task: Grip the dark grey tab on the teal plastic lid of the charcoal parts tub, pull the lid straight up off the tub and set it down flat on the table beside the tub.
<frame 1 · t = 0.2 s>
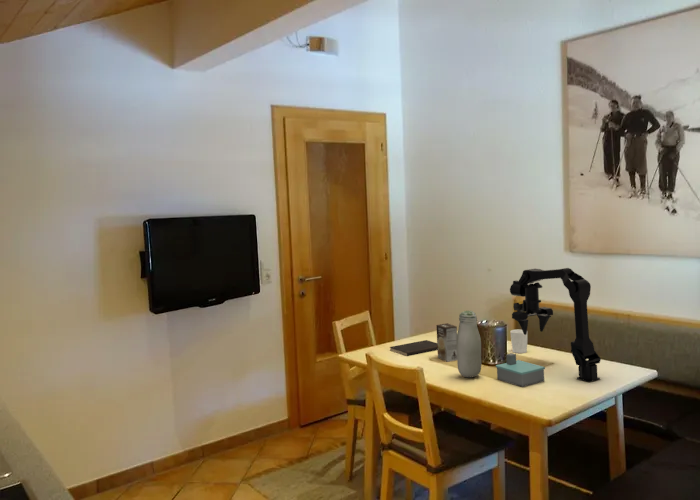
hand: (533, 333, 266), 15 cm above the table, tool pointing down, fingers open, 9 cm apart
parts tub: (520, 380, 247), on the table
lid: (520, 368, 246), point 5 cm above the table, touching parts tub
hardcover book: (417, 350, 309), on the table
white cup: (519, 352, 292), on the table
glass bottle: (470, 377, 256), on the table
coffee box: (447, 359, 287), on the table
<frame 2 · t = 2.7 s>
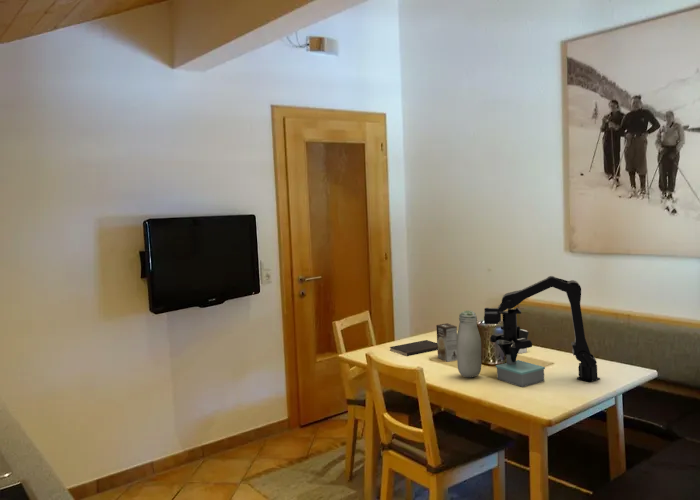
hand: (511, 361, 251), 7 cm above the table, tool pointing down, fingers closed on lid, 2 cm apart
lid: (520, 368, 246), point 5 cm above the table, touching gripper, parts tub
everything else where it was.
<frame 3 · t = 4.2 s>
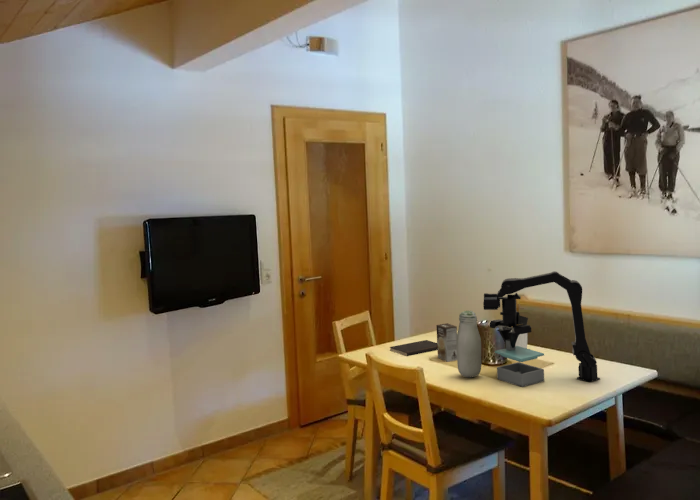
hand: (510, 347, 250), 13 cm above the table, tool pointing down, fingers closed on lid, 2 cm apart
lid: (519, 354, 246), point 11 cm above the table, touching gripper
everything else where it was.
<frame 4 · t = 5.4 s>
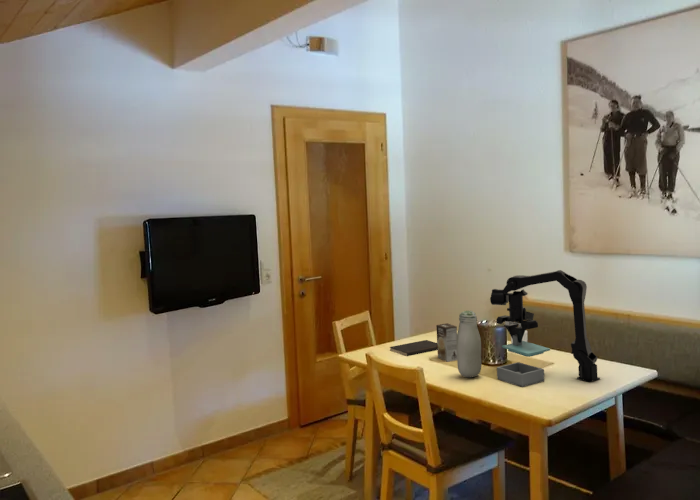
hand: (517, 342, 258), 13 cm above the table, tool pointing down, fingers closed on lid, 2 cm apart
lid: (525, 348, 254), point 11 cm above the table, touching gripper
everything else where it was.
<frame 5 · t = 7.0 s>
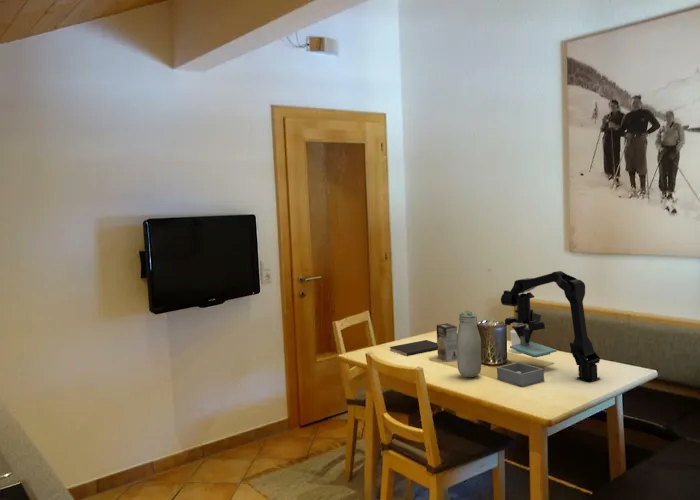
hand: (525, 342, 266), 10 cm above the table, tool pointing down, fingers closed on lid, 2 cm apart
lid: (532, 349, 263), point 8 cm above the table, touching gripper
everything else where it was.
when the fingers open (4 cm above the table, at t = 8.4 s): lid stays where it is, point 1 cm above the table.
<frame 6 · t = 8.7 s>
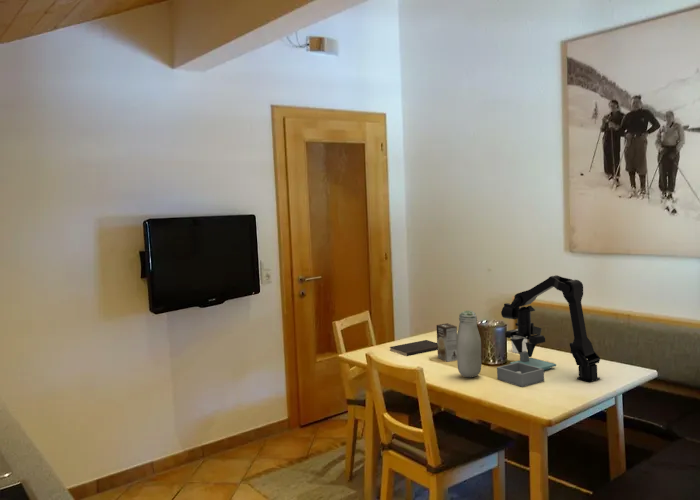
hand: (525, 355, 267), 4 cm above the table, tool pointing down, fingers open, 5 cm apart
lid: (532, 365, 263), point 1 cm above the table
everything else where it was.
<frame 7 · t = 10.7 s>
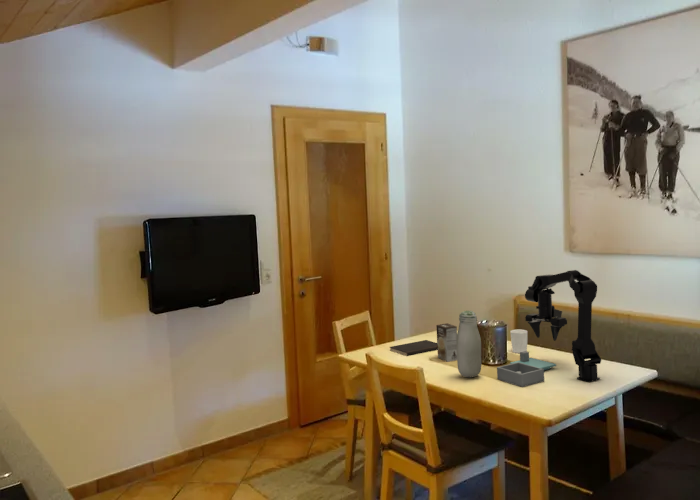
hand: (546, 339, 265), 12 cm above the table, tool pointing down, fingers open, 9 cm apart
nothing on the table moved.
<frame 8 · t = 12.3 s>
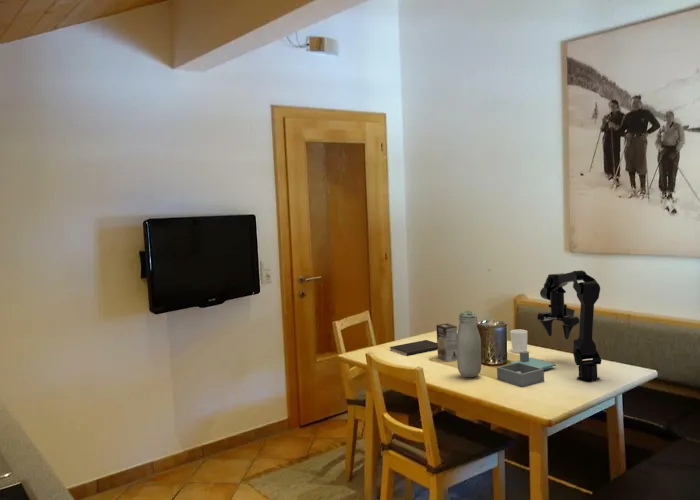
hand: (558, 337, 265), 12 cm above the table, tool pointing down, fingers open, 9 cm apart
nothing on the table moved.
at the end: lid inside the target area (0.3 cm from its centre), point 1.2 cm above the table; the gripper is holding nothing; lid tilted 0° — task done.
